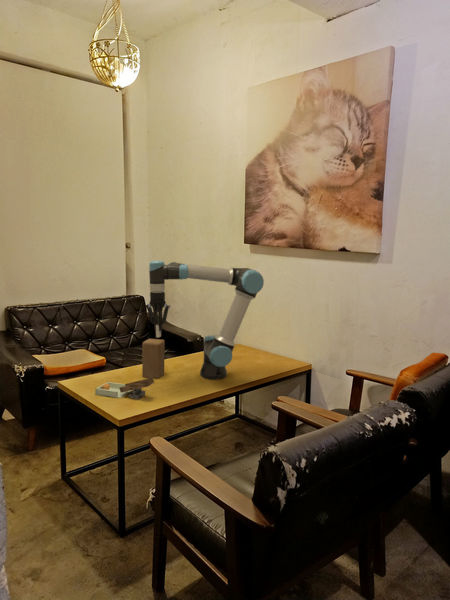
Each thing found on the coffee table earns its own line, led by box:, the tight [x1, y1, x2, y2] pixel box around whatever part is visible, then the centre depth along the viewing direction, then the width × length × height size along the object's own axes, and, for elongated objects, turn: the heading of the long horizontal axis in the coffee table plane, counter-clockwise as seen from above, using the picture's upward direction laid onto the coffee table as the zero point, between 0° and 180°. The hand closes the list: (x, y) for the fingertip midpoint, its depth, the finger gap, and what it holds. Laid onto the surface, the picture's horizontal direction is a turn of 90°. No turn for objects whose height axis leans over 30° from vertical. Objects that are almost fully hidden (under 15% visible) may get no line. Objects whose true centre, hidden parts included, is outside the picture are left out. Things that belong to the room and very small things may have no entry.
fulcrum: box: [128, 388, 146, 400], centre depth 223 cm, size 5×7×4 cm
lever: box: [119, 376, 155, 393], centre depth 226 cm, size 16×14×4 cm
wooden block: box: [141, 338, 166, 379], centre depth 254 cm, size 10×10×20 cm
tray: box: [95, 381, 133, 399], centre depth 227 cm, size 14×11×3 cm
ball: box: [102, 383, 110, 390], centre depth 228 cm, size 4×4×4 cm
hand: (158, 336), depth 234 cm, fingers closed
